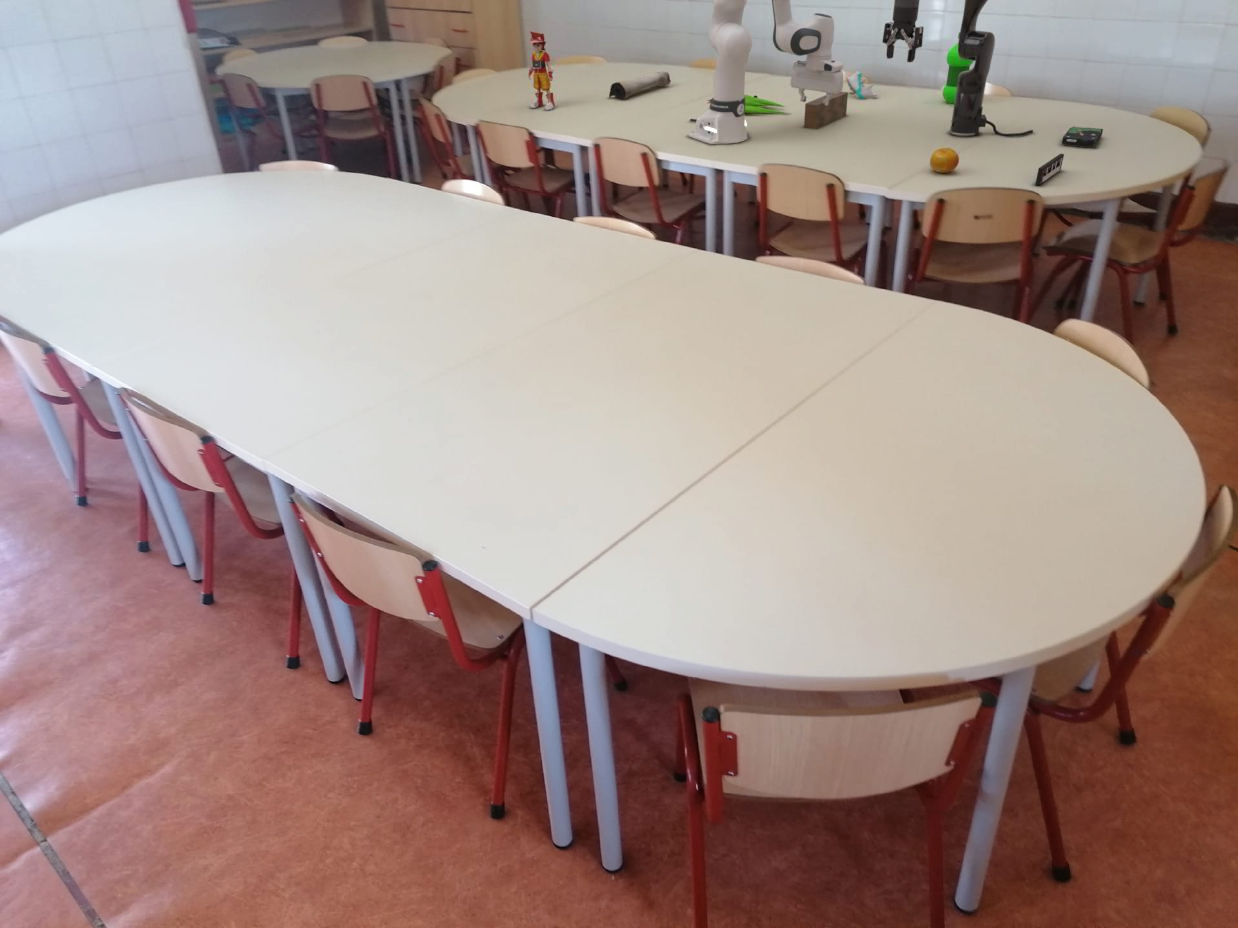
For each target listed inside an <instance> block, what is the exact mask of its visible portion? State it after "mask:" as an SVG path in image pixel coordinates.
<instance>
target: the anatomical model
mask: <svg viewBox="0 0 1238 928" xmlns="http://www.w3.org/2000/svg"><path fill="white" fill-rule="evenodd" d="M862 78H863V74H862V72H860V71H858V70H855V71H854V73H853V74H852V75H848V76H847V77H846V82H847V85H848V87H849V90H850V91H852V92H855V93H856V94H857V96H858V98H859V99H861V100H862V99H866V98H871V97H872V98H875V97H877V96H878V93H877V92H873V91H872V88H873V87H874V86H875V84H874V83H869V84H868V85H867V86H865V85H864V83H865V81H866V80H867V78H866V77H865V78H863V79H862Z"/></svg>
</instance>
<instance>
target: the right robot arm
mask: <svg viewBox="0 0 1238 928" xmlns="http://www.w3.org/2000/svg"><path fill="white" fill-rule="evenodd" d="M988 1H989V0H964V7H963V15H962V20H961V25H960V30H959V32H960V35H959V34H958V35H959V38H958V42H957V43H958V56H959V57H960V58H961V59H964V60H971V61H973V62H974V66H973V67H972V68H971V69H970V68H969V70H967V71H963V72H961V73H960V74H959V77H958V83H957V90H956V96H955V103H953V110H952V115H951V119H950V121H949V124H950V129H949V134H950V135H952V136H956V137H973V136H979V131H980V128H986V124H987V125H989V126H991V127H992V129H993V130H992V131H993V132H994V134H996V135H999V136H1002V137H1020V136H1022V137H1023V136H1025V135H1028V134H1032V133H1033V132H1034V129H1029V130H1026V131H1023V132H1015V133H1013V132H1012V133H1003V132H999V131H998V130H997V126H996V125H995V123H993V122H992V121H990V120H987V116H986V114H983V109H984V107H983V102H984V96H985V90H986V83H987V79H988V76H989V73H990V71H991V70H990V69H991V64H992V60H993V56H994V51H995V45H996V36H995V34H994V33H993V32H992V31H984V30H977V22H978V19H979V16H980V14H981V11H982V10H983V8H984V7H985V5H986V4H987V2H988ZM920 2H921V1H920V0H894V2H893V11H892V21H891V22H885V23H884V29H883V35H882V44H885V45H886V53H885V54H886V59H888V60H889V59H893V58H894V54H895V45H896V42H897V41H899V40H901V41H904V42H905V44H906V45H907V47H908V51H907V59H906V62H907V63H913V62H914V60H915V58H916V51H917V49H919V48H922V47H923V40H924V39H923V38H924V30H925V29H924V26H916V22H917V21H918V17H919V16H918V15H919V10H920V9H919V8H920Z"/></svg>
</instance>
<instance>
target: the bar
mask: <svg viewBox="0 0 1238 928" xmlns="http://www.w3.org/2000/svg"><path fill="white" fill-rule="evenodd" d="M848 97H849V91H841V92H840V93H837V94H833V93H832V96H831V98H830V99H829V103H828V105H823V100H825V99H826V98H827V96H826V94H825V95H822V96H820V97H818V98H815V99H812V100H810V101H808V102H805V104H804V119H803V120H804V122H803V128H808V129H815V130H817V129H819V128H821V127H824V126H826V125H828V124H830V123H832V122H835V121H836V120H839V119H841V118H843V117H845V116H847V108H848Z"/></svg>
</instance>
